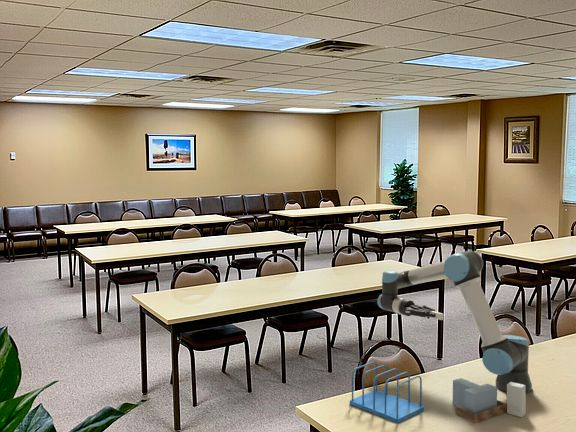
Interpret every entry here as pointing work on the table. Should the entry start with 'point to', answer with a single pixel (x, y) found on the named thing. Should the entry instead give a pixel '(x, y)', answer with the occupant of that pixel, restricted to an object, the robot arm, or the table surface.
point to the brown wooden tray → (482, 415)
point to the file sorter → (387, 398)
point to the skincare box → (516, 399)
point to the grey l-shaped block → (474, 396)
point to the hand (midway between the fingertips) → (442, 316)
